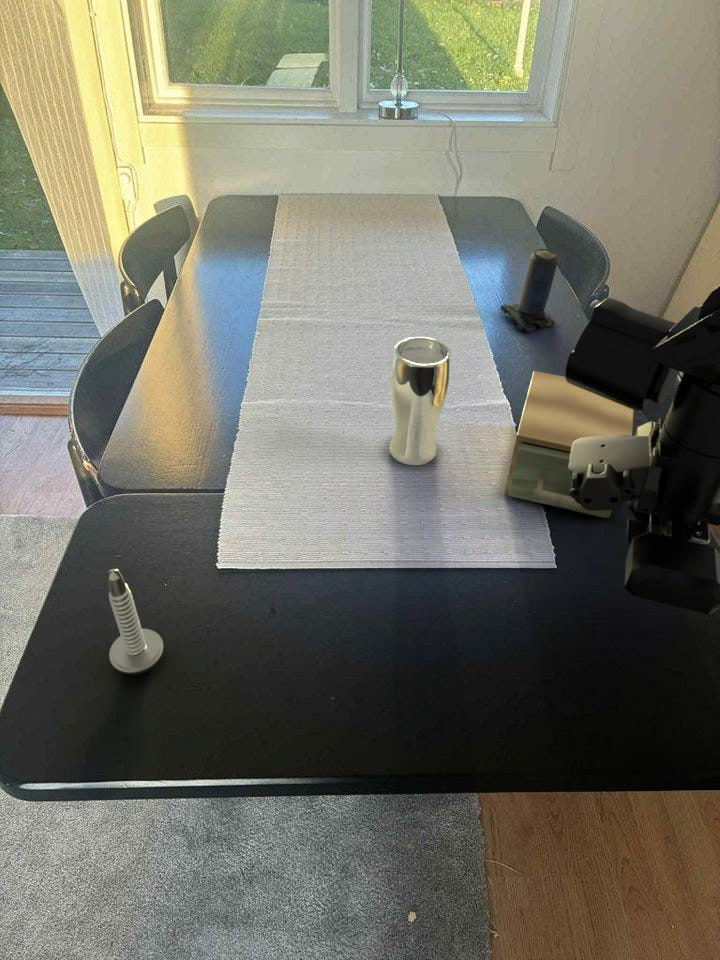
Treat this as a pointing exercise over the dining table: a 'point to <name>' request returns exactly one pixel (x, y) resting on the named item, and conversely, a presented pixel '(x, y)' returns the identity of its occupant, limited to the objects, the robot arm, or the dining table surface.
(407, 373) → the beer glass
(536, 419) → the cabinet
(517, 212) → the dining table surface
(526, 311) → the grey post with base
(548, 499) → the drawer
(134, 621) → the screw
